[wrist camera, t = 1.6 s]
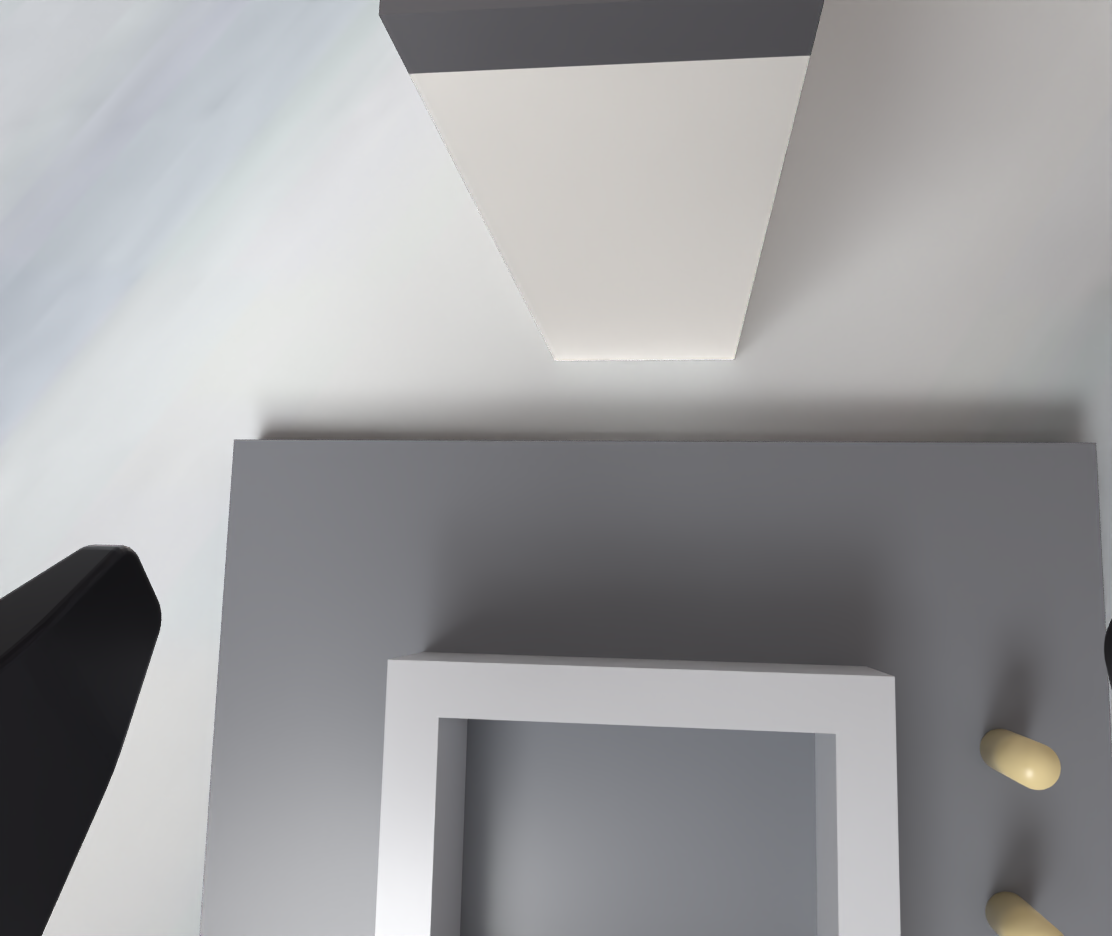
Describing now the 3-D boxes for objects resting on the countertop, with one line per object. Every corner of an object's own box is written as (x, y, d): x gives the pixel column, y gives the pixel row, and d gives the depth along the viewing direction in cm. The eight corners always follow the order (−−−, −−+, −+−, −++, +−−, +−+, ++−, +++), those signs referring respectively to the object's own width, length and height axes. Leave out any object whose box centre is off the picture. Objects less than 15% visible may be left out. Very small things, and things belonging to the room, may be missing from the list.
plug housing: (554, 361, 22) (378, 15, 9) (559, 192, 22) (398, -366, 9) (734, 359, 21) (826, -9, 8) (734, 187, 22) (820, -411, 9)
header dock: (196, 1304, 20) (95, 1453, 16) (253, 446, 22) (176, 418, 19) (1122, 1418, 17) (1232, 1620, 14) (1074, 450, 20) (1159, 419, 16)
